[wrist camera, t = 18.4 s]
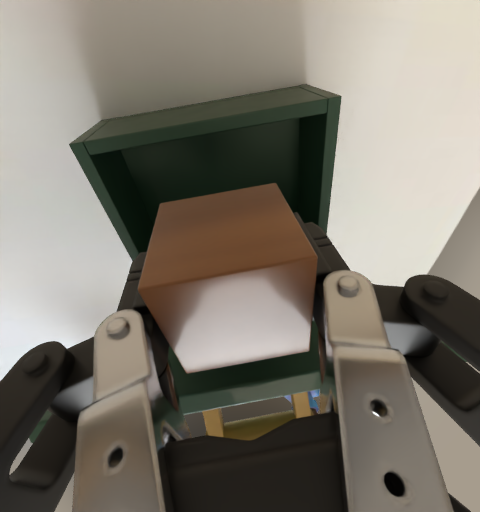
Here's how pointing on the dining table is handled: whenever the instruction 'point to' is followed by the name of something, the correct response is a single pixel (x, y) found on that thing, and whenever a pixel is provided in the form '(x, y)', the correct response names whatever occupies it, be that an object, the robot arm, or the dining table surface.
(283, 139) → the green storage bin
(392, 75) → the dining table surface
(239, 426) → the cover
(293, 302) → the block
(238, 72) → the dining table surface
